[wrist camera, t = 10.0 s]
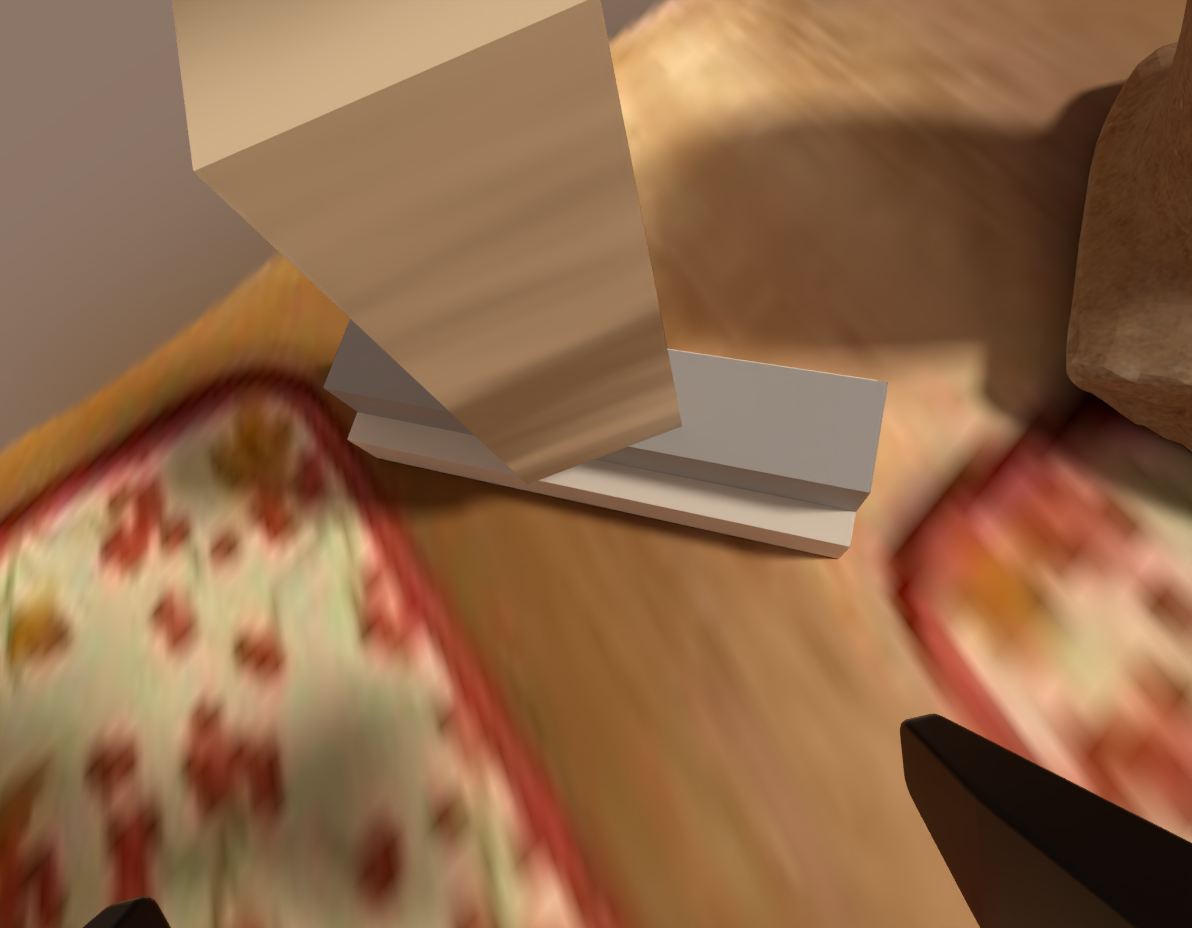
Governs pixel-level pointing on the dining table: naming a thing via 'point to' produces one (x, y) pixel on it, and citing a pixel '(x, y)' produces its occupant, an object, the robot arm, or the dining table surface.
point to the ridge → (665, 446)
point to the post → (449, 200)
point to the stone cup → (1140, 251)
